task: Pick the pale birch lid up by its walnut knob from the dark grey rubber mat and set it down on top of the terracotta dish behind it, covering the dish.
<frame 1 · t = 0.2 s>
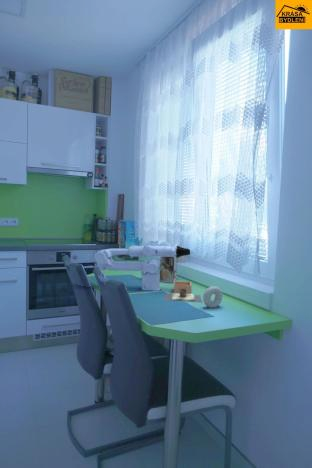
hand: (190, 251, 181), 21 cm above the table, tool horizontal, fingers open, 7 cm apart
cup: (148, 279, 210), on the table
coffee box: (168, 281, 205), on the table
lid: (182, 297, 166), point 1 cm above the table, touching mat
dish: (182, 292, 179), on the table
donut: (212, 308, 152), on the table
mat: (182, 299, 166), on the table
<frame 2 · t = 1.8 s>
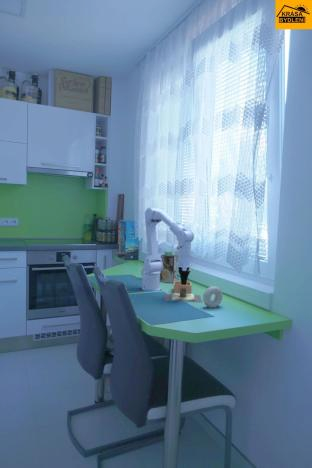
hand: (183, 283, 165), 8 cm above the table, tool pointing down, fingers open, 7 cm apart
nothing on the table moved.
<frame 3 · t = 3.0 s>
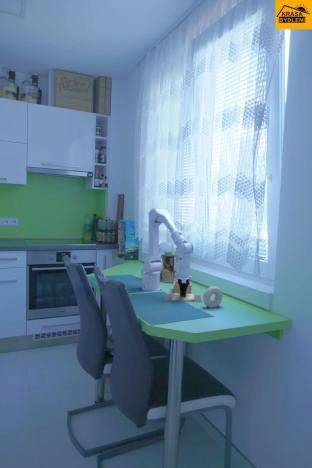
hand: (182, 294, 166), 2 cm above the table, tool pointing down, fingers closed on lid, 3 cm apart
lid: (182, 297, 166), point 1 cm above the table, touching gripper, mat
everything else where it was.
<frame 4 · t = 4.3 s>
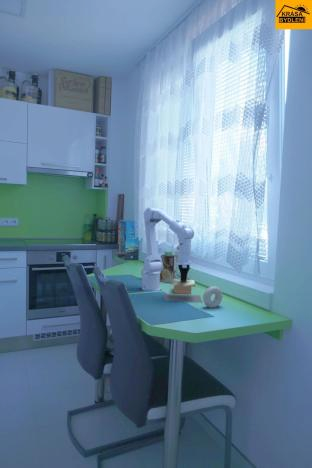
hand: (183, 280, 166), 9 cm above the table, tool pointing down, fingers closed on lid, 3 cm apart
lid: (183, 283, 166), point 8 cm above the table, touching gripper
everything else where it was.
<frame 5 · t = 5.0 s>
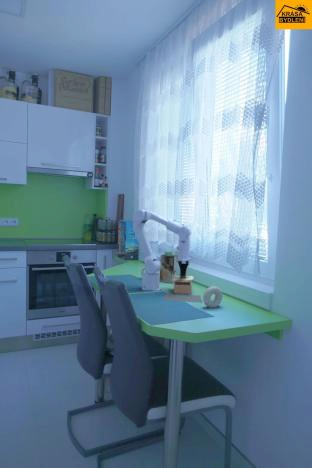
hand: (182, 275, 178), 9 cm above the table, tool pointing down, fingers closed on lid, 3 cm apart
lid: (182, 279, 178), point 7 cm above the table, touching gripper
everything else where it was.
when the fingers open (8 cm above the table, at t = 5.7 s): lid stays where it is, resting on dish.
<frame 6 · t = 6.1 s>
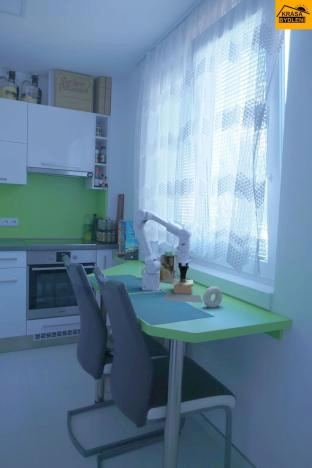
hand: (182, 277, 178), 8 cm above the table, tool pointing down, fingers open, 6 cm apart
lid: (182, 283, 179), point 5 cm above the table, touching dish
everything else where it was.
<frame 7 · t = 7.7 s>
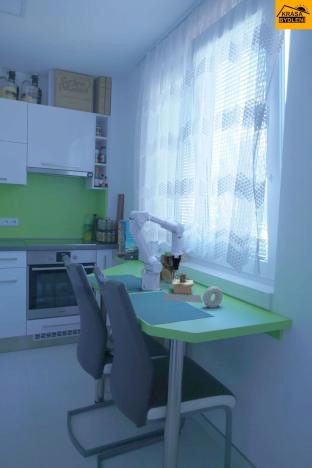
hand: (176, 268, 191), 10 cm above the table, tool pointing down, fingers open, 7 cm apart
nothing on the table moved.
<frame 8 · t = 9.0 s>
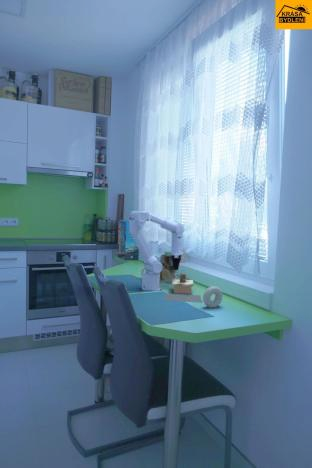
hand: (176, 268, 191), 10 cm above the table, tool pointing down, fingers open, 7 cm apart
nothing on the table moved.
at the end: lid 0.0 cm off-centre on the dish, point 5.0 cm above the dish's base; lid tilted 0°; the gripper is holding nothing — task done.
